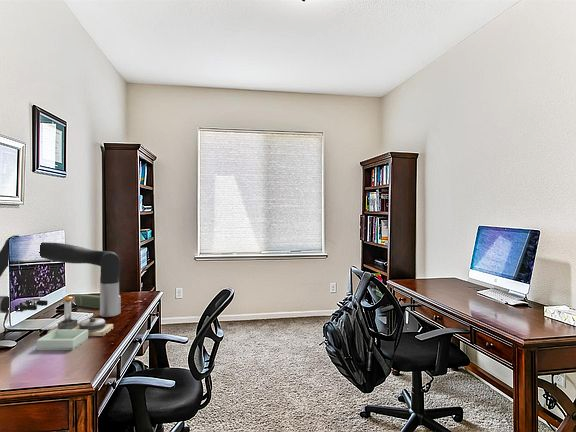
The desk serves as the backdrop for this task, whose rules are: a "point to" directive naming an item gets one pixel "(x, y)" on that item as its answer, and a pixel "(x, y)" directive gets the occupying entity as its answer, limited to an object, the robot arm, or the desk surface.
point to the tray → (62, 340)
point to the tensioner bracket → (86, 326)
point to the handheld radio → (87, 300)
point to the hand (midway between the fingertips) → (42, 305)
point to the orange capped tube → (67, 309)
